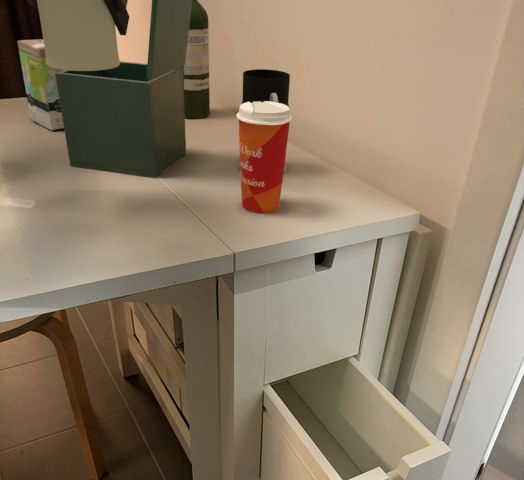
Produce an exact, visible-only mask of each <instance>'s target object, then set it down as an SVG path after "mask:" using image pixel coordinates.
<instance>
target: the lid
mask: <svg viewBox="0 0 524 480" xmlns="http://www.w3.org/2000/svg"><path fill="white" fill-rule="evenodd" d="M191 7H192V0H151V10H150V22H149V23H150V25H149V38H148V51H147V63H146V64H147V77H146V79H149V80H153V79H155V78H157V77H159V76H162V75H164V74H166V73H168V72H170V71H173V70H175V69H177V68H179V67H181V66H184V65H185V60H186V51H187V42H188V33H189V24H190V15H191Z"/></svg>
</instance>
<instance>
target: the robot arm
mask: <svg viewBox="0 0 524 480" xmlns="http://www.w3.org/2000/svg"><path fill="white" fill-rule="evenodd" d="M25 1H26V2H27V3H28V4H29V5H30V6H34V8H35V10H36V11H37V12H38V13H39V9H38V3H37V0H25ZM104 1H105V3H106V6H107V8H108V10H109V12H110V14H111V16H112V18H113V21H114V23H115V28H116V29H117V31H118V33H119V35H120V36H127V32H128V27H129V21H130V14H129V12H128V9H127V6H128V2H129V1H128V0H104Z"/></svg>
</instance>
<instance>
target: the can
mask: <svg viewBox="0 0 524 480" xmlns="http://www.w3.org/2000/svg"><path fill="white" fill-rule="evenodd" d="M37 3H38V9H39V12H38V15H39V21H40V27H41V33H42V39H43V40H44V46H45V54H46V64H47V65H48V66H50V67H52V68H56V69H61V70H70V71H98V70H107V69H112V68H115V67H118V66H119V65H120V61H121V60H120V56H119V49H118V48H119V47H118V40H117V39H118V38H117V30H116V29H117V28H116V25H115V23H114V21H113V18H112V16H111V14H110V12H109V10H108V8H107V6H106V3H105V1H104V0H37Z"/></svg>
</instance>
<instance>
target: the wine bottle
mask: <svg viewBox="0 0 524 480" xmlns="http://www.w3.org/2000/svg"><path fill="white" fill-rule="evenodd" d="M209 29H210V28H209V15H208V13H207V11H206V9H205V8H204V6H203V5H202V4H201V3H200V2H199V1H198V0H192V7H191V15H190V24H189V33H188V42H187V51H186V60H185V65H184V66H181V67H182V68H183V88H184V113H185V120H186V119H187V120H199V119H200V120H201V119H205V118H207V117H209V115H210V114H211V109H210V108H211V107H210V105H211V104H210V103H211V101H210V41H209V40H210V39H209V36H210V35H209V33H210V32H209V31H210V30H209Z"/></svg>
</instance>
